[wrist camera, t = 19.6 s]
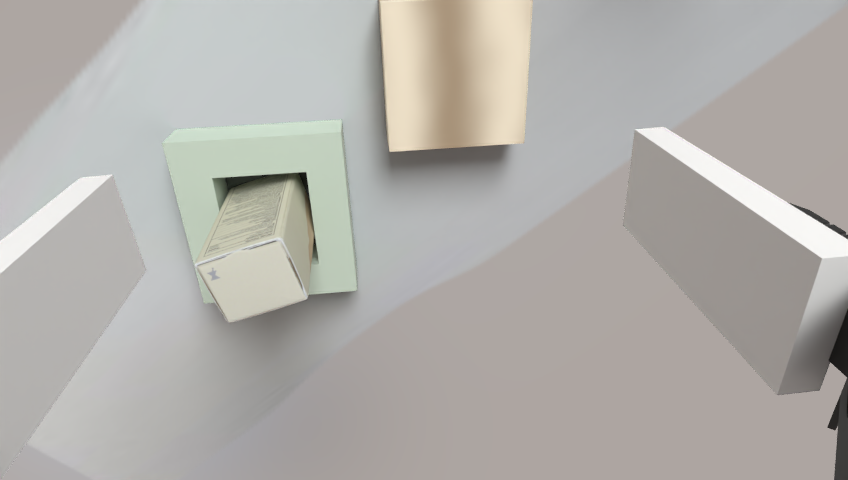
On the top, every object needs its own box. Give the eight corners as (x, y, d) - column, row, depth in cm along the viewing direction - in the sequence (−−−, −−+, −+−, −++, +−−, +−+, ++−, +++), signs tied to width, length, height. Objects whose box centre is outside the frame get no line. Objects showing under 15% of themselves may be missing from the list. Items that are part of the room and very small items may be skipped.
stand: (519, -8, 35) (533, -5, 32) (512, 130, 39) (524, 143, 37) (378, -2, 34) (380, 2, 32) (387, 137, 38) (389, 151, 36)
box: (253, 237, 41) (221, 327, 31) (228, 186, 39) (186, 265, 29) (320, 217, 41) (310, 301, 31) (299, 165, 39) (281, 237, 29)
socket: (341, 119, 37) (340, 132, 35) (357, 269, 43) (357, 290, 40) (175, 129, 37) (161, 143, 34) (213, 281, 42) (204, 303, 40)
